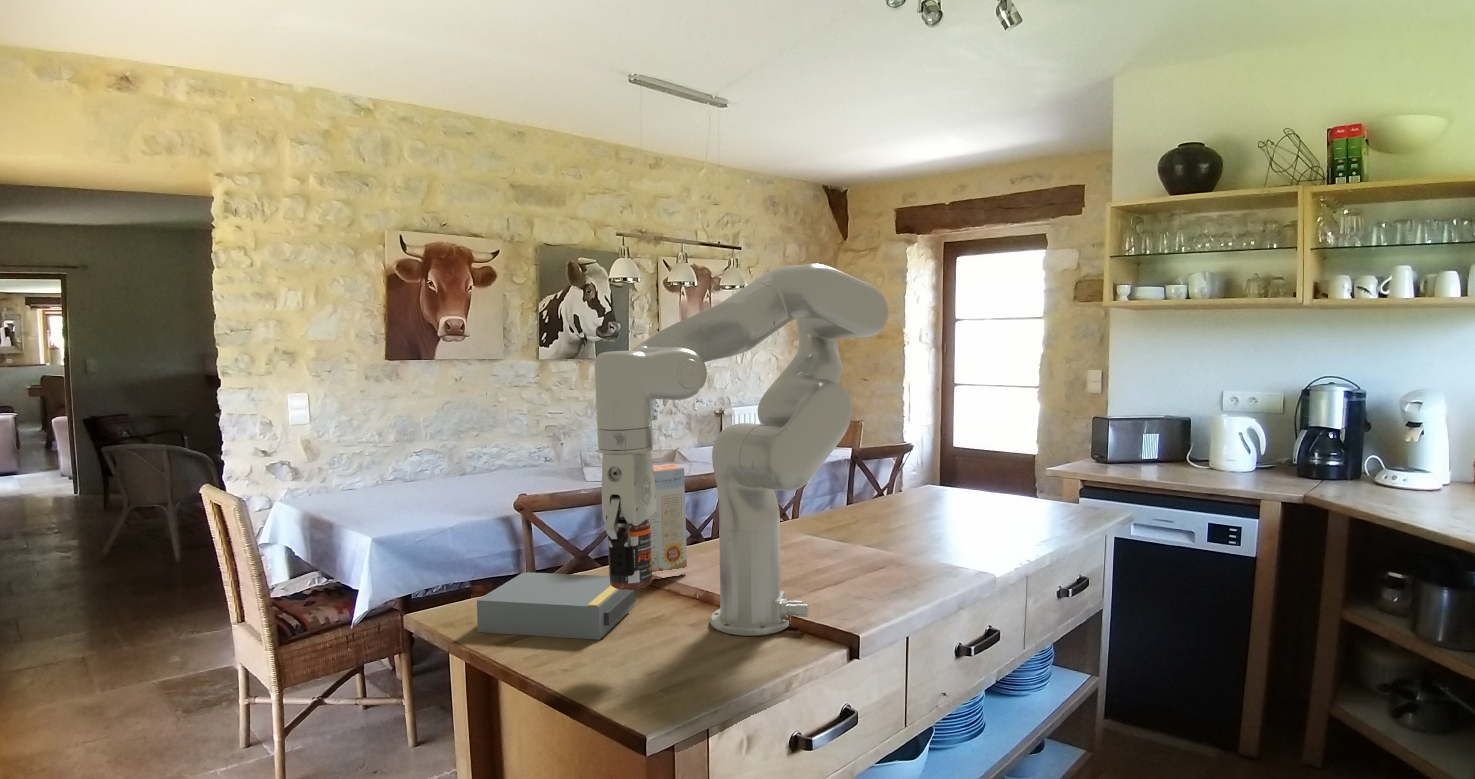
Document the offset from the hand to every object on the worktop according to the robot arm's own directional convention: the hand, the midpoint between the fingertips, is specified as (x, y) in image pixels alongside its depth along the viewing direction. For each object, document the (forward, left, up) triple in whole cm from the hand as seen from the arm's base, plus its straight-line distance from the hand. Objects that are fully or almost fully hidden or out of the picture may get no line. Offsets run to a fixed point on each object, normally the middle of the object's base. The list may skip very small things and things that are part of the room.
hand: (630, 566), depth 117 cm
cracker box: (+10, -39, -13) cm, 43 cm away
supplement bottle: (0, 0, -3) cm, 3 cm away
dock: (+17, -14, -13) cm, 26 cm away
